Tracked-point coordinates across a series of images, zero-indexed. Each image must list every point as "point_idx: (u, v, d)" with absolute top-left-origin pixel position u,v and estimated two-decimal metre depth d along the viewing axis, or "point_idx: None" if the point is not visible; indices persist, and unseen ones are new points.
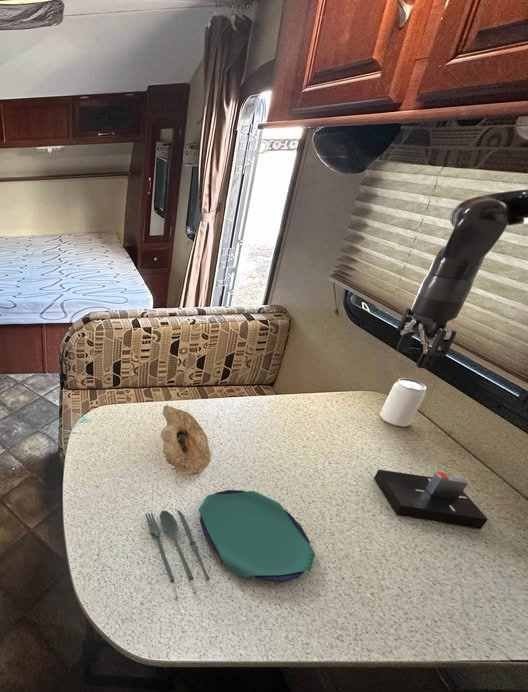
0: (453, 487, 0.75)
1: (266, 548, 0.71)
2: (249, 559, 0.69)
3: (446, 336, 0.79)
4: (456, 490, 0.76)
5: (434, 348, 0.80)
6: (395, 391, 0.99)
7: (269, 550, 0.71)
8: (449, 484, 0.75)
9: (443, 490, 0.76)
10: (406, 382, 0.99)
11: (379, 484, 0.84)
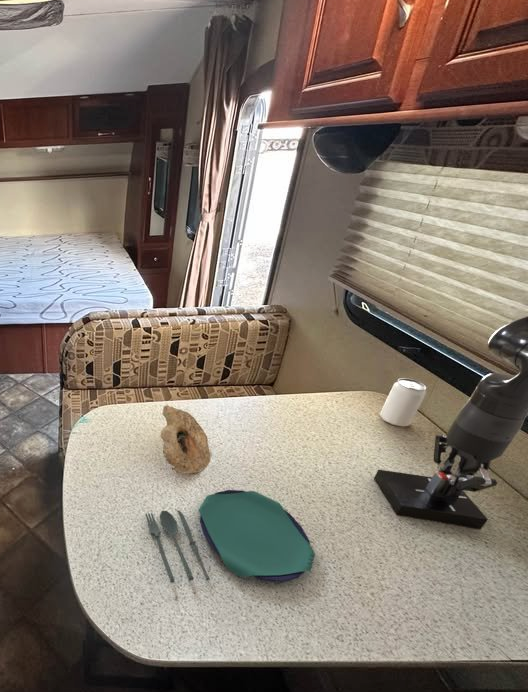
0: None
1: (266, 548, 0.71)
2: (249, 559, 0.69)
3: (483, 485, 0.68)
4: None
5: (464, 488, 0.71)
6: (394, 391, 0.99)
7: (269, 550, 0.71)
8: None
9: None
10: (406, 382, 0.99)
11: (379, 484, 0.84)
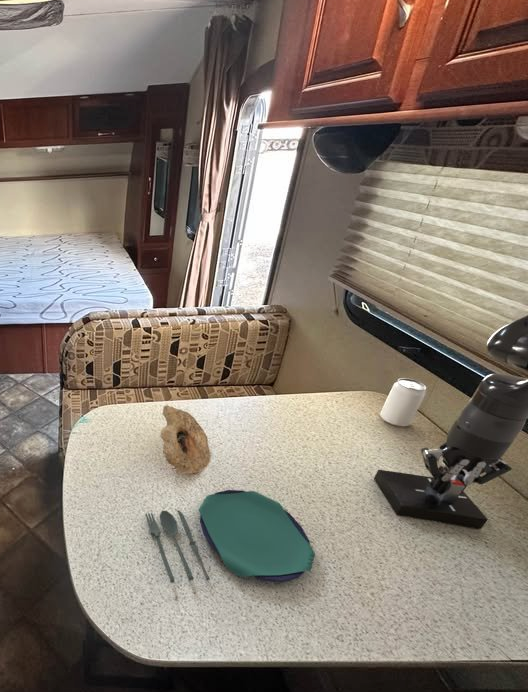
0: None
1: (266, 548, 0.71)
2: (249, 559, 0.69)
3: None
4: None
5: (489, 480, 0.72)
6: (394, 391, 0.99)
7: (269, 550, 0.71)
8: None
9: None
10: (406, 382, 0.99)
11: (379, 484, 0.84)
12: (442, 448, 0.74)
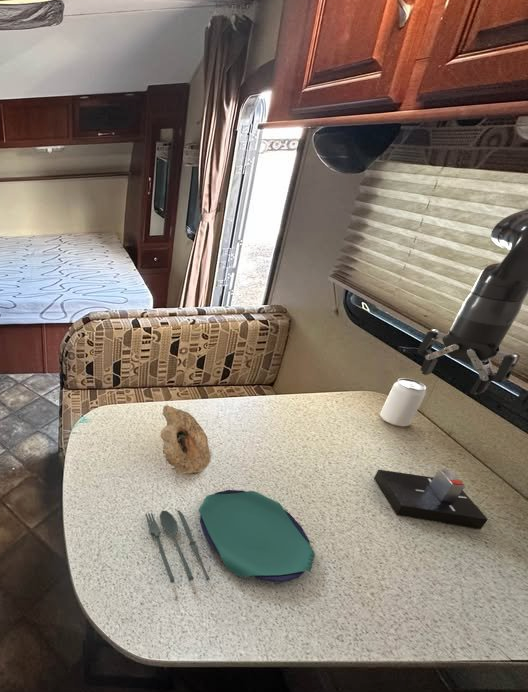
0: None
1: (266, 548, 0.71)
2: (249, 559, 0.69)
3: (514, 361, 0.72)
4: None
5: (504, 376, 0.73)
6: (394, 391, 0.99)
7: (269, 550, 0.71)
8: None
9: None
10: (406, 382, 0.99)
11: (379, 484, 0.84)
12: None
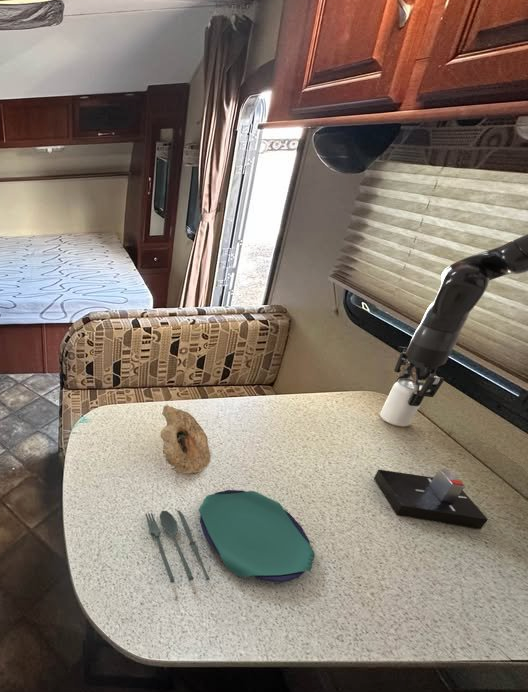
0: None
1: (266, 548, 0.71)
2: (249, 559, 0.69)
3: (434, 382, 0.90)
4: None
5: (423, 391, 0.92)
6: (395, 391, 0.99)
7: (269, 550, 0.71)
8: None
9: None
10: (406, 382, 0.99)
11: (379, 484, 0.84)
12: None
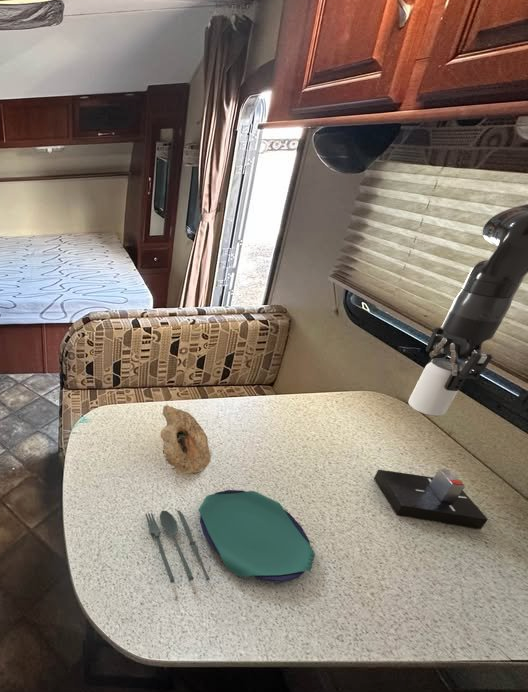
0: None
1: (266, 548, 0.71)
2: (249, 559, 0.69)
3: (480, 360, 0.73)
4: None
5: (466, 372, 0.75)
6: (427, 374, 0.83)
7: (269, 550, 0.71)
8: None
9: None
10: (441, 363, 0.82)
11: (379, 484, 0.84)
12: None
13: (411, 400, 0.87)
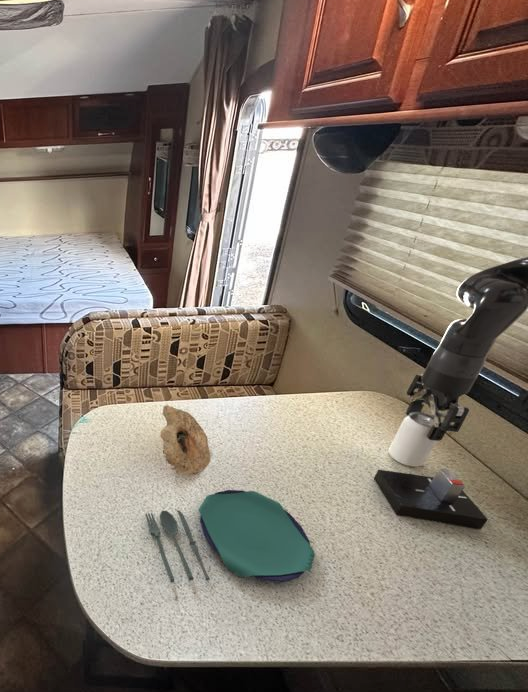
0: None
1: (266, 548, 0.71)
2: (249, 559, 0.69)
3: (458, 413, 0.76)
4: None
5: (446, 424, 0.78)
6: (405, 427, 0.87)
7: (269, 550, 0.71)
8: None
9: None
10: (419, 417, 0.87)
11: (379, 484, 0.84)
12: None
13: (391, 450, 0.91)
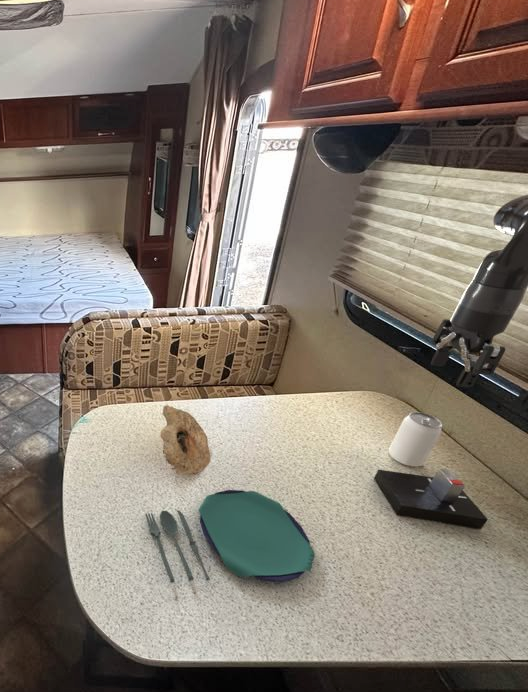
0: None
1: (266, 548, 0.71)
2: (249, 559, 0.69)
3: (494, 353, 0.70)
4: None
5: (480, 366, 0.71)
6: (405, 427, 0.87)
7: (269, 550, 0.71)
8: None
9: None
10: (419, 417, 0.87)
11: (379, 484, 0.84)
12: None
13: (391, 450, 0.91)
